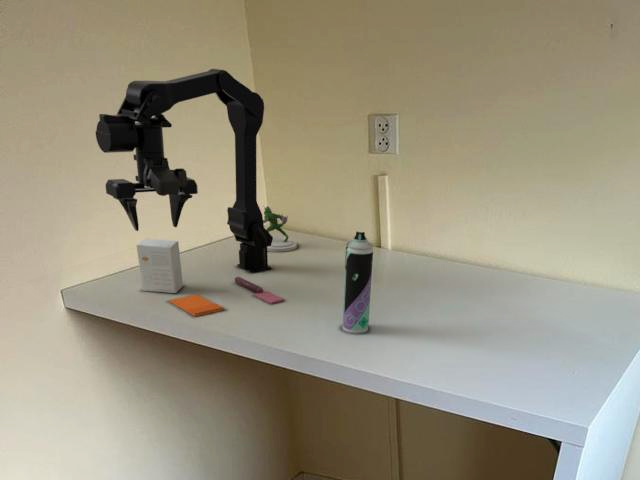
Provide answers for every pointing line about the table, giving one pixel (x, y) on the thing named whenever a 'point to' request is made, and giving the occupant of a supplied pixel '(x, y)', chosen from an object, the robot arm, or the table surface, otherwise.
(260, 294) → the spatula
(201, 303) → the orange flat block
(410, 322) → the table surface
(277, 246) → the monster figurine
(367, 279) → the spray can
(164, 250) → the small box
